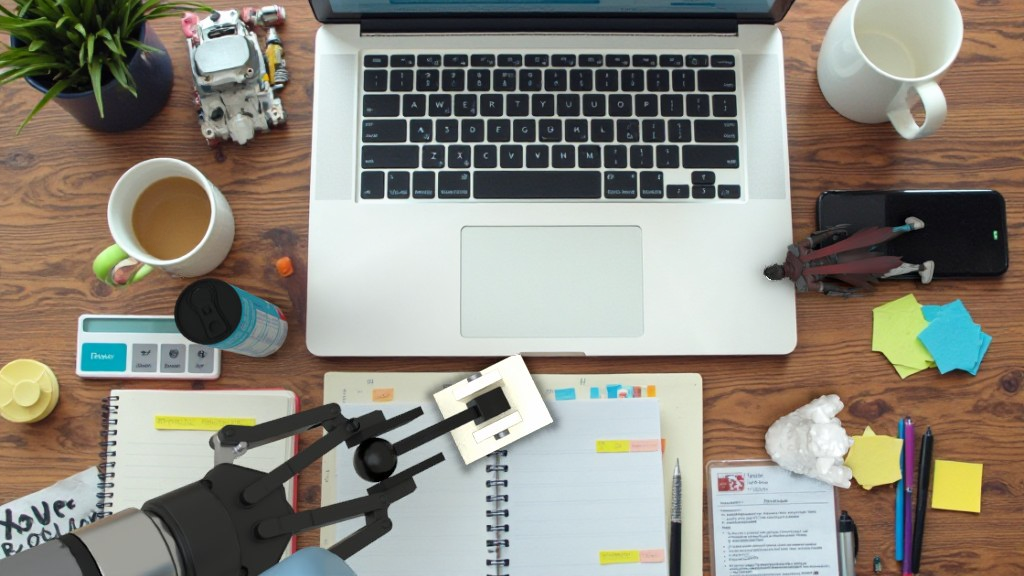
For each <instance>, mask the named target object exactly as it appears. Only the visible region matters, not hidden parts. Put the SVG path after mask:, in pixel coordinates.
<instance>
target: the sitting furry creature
mask: <svg viewBox="0 0 1024 576" xmlns="http://www.w3.org/2000/svg"><path fill="white" fill-rule="evenodd" d="M840 399H841V398H840V396H839V395H837V394H835V393H834V394H833V393H832V394H828V395H825V394H823V395H821V396H820V397H818V398H814V399H812V400H811V401H810V402H809V403H805V405H802V406H800V407H799V408H796V409H795V410H794V411H791V412H789V413H788V414H786V415H785V416H784V415H783V416H779V419H776V420H775V422H773V423H772V424H771V425H770V426H769V427H768V429H767V431H766V433H765V435H764V440H765V445H764V449H765V450H766V452H765V453H766V454H767V455H769V457H770V459H771V461H772V462H774V463H777V465H778V467H779V468H782V469H783V470H786V471H789V472H793V473H794V474H797V475H798V474H799V475H805V476H806V477H807V478H810V479H815V480H816V479H817V480H818V481H819V482H823V483H826V484H827V485H829V486H834V487H838V488H841V489H846V490H848V489H849V488H851V485H852V482H851V481H850V480H852V478H853V470H852V468H850V467H849V466H847V465H844V464H845V459H844V456H845V455H846V454H848V452H849V449H850V448H851V447H852V446H853V445H854V444H855V439H854V438H853V437H852V436H850V435H848V434H847V432H846V428H844V427H842V421H841V419H840V418H839V417H836V415H838V413H840V412H842V410H843V409H844V407H845V405H844V402H842V401H841V400H840Z"/></svg>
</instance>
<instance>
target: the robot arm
mask: <svg viewBox="0 0 1024 576" xmlns="http://www.w3.org/2000/svg"><path fill="white" fill-rule="evenodd" d="M422 408H423V407H422V406H421V405H420V406H416V407H415V408H412V409H409V410H407V411H404V412H402V413H400V414H398V415H395V416H392V417H390V418H386V416H385V414H384V412H383V410H381V409H375V410H373V411H370V412H368V413H365V414H362V415H360V416H358V417H355V416H354V417H350V418H348V417H346V416H345V415H344V414H343V412H342V408H341V405H340V404H339V403H337V402H329V403H325V404H322V405H319V406H316V407H312V408H309V409H306V410H302V411H299V412H295V413H292V414H288V415H285V416H282V417H278V418H276V419H271V420H268V421H264V422H261V423H258V424H255V425H243V424H225V425H224V426H222V427H221V428H220V429H219V430H218V431H216V432H215V433H214V434H212V436H210V437H209V440H208V446H209V447H210V449H212V450H213V451H214V453H213V454H214V455H213V467H212V468H211V469H209V470H208V471H207V472H206V473H205V475H204V476H202V478H200V479H198V480H195V481H193V482H191V483H189V484H186V485H183V486H180V487H177V488H175V489H173V490H171V491H168V492H166V493H163V494H160V495H158V496H155V497H153V498H150V499H147V500H146V501H145V502H143V504H142V506H141V507H140V508H138V507H134V506H132V507H127V508H125V509H122V510H120V511H118V512H115V513H112V514H109V515H108V516H104V517H102V518H100V519H98V520H95V521H93V522H91V523H88V524H85V525H83V526H80V527H78V528H75V529H73V530H70V531H67V532H65V533H64V534H62V535H59V536H57V537H55V538H52V539H51V540H48V541H45V542H43V543H40V544H37V545H34V546H32V547H29V548H27V549H24V550H21V551H19V552H17V553H13V554H11V555H8V556H5V557H4V558H0V576H359V575H358V573H356V572H355V570H354V569H353V568H352V567H351V566H350V565H349V564H348V563H347V562H346V561H347V560H348V559H350V558H351V557H353V556H354V555H356V554H357V553H359V552H360V551H362V550H363V549H365V548H366V547H368V546H370V545H371V544H373V543H374V542H376V541H377V540H379V539H380V538H382V537H383V536H385V535H386V534H388V533H389V532H390V531H392V529H393V527H394V526H393V520H392V519H391V518H390V517H389V511H388V510H389V508H390V506H391V505H392V504H394V503H395V502H397V501H399V500H401V499H403V498H405V497H407V496H409V495H411V494H413V493H414V492H415V491H416V490H417V488H418V485H417V483H416V481H415V479H414V477H415V476H416V475H417V476H418V475H419V474H420V473H423V472H424V471H426V470H428V469H431V468H432V467H434V466H436V465H439V464H440V463H442V462H445V461H446V460H447V459H446V457H445V455H444V453H443V451H440V452H438V453H437V454H434V455H433V456H430V457H429V458H426V459H424V460H422V461H420V462H418V463H416V464H413V465H412V466H410V467H408V468H405V469H403V470H402V471H399V472H397V473H396V474H392V475H391V476H390V477H389V478H387V479H385V480H383V481H381V482H377V483H374V485H371V486H370V487H368V488H367V487H366V489H365V490H366V492H367V495H363V496H359V497H355V498H351V499H348V500H345V501H344V500H343V501H340V502H336V503H332V504H328V505H325V506H320V507H317V508H312V509H305V510H301V511H298V512H295V509H294V507H293V506H292V505H291V504H290V502H289V501H288V499H287V493H286V488H285V486H284V484H285V483H287V482H289V480H291V479H292V478H294V477H295V476H296V475H298V474H299V473H301V472H302V471H304V470H305V469H306V468H308V467H310V466H311V465H312V464H314V463H315V462H317V461H318V460H319V459H321V458H322V457H324V456H325V455H326V454H328V453H329V452H331V451H333V449H335V448H337V447H338V446H339V445H341V444H343V443H345V445H346V447H347V450H350V449H352V448H355V447H358V446H359V445H360V444H361V443H362V442H363V441H365V440H367V439H369V438H374V437H381V436H382V435H384V434H387V433H389V432H391V431H394V430H397V429H398V428H401V427H403V426H405V425H408V424H409V423H412V422H413V421H414V420H416V419H418V418H420V417H421V416H424V415H425V412H424V410H423V409H422ZM321 427H322V428H323V429H324V430H325V431H326V434H324V435H323V436H322V437H320V438H318V439H317V440H315V441H314V442H313V443H311V444H309V445H308V446H307V447H305V448H304V449H302V450H301V451H299V452H297V453H296V454H294V455H293V456H292V457H290V458H289V459H287V460H285V461H284V462H283V463H281V464H279V465H278V466H276V467H275V468H273V469H272V470H271V471H269V472H266V471H262V470H258V469H255V468H252V467H247V466H244V465H240V464H236V463H234V460H238V459H240V458H241V457H242V456H244V455H245V454H247V452H248V451H249V450H254V449H256V448H259V447H262V446H265V445H268V444H272V443H274V442H275V443H276V442H277V441H281V440H285V439H288V438H290V437H293V436H297V435H300V434H302V433H306V432H309V431H313V430H316V429H318V428H321ZM361 517H364V520H365V525H363V526H361V527H360V528H358V529H357V530H355V531H354V532H352V533H351V534H349V535H347V536H346V537H344V538H342V539H341V540H340V541H338V542H336V543H334V544H332V545H331V546H329V547H328V548H324V547H321V546H307V547H304V548H301V549H298V550H297V551H295V552H294V553H292V554H291V555H289V556H287V557H285V558H284V559H282V557H283V555H284V553H285V551H286V549H287V548H288V546H289V543H290V541H291V539H292V538H293V537H295V536H298V535H301V534H304V533H307V532H311V531H315V530H318V529H323V528H325V527H329V526H333V525H336V524H340V523H343V522H347V521H351V520H354V519H358V518H361ZM281 559H282V560H281Z"/></svg>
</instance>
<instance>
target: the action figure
mask: <svg viewBox="0 0 1024 576" xmlns="http://www.w3.org/2000/svg"><path fill="white" fill-rule="evenodd" d="M904 223H905V224H904V225H901V226H895V227H894V226H893V227H891V226H884V227H880V226H879V225H878V226H875V225H874V226H866V227H862V228H861V229H859V230H858V231H856V232H855V233H852V234H851V236H849V233H848V230H846V229H845V228H847V226H851V224H849V223H841V224H836V225H835V226H831V225H825V226H824V227H825V228H826V229H825V230H824V229H823V230H817V231H813V232H810V233H809V236H807V237H804V238H802V239H801V240H799V241H798V242H795V243H794V244H793V243H791V244H789V245H787V253H786V257H785V260H784V262H782V264H778V262H776V263H775V262H774V263H771V264H770V265H768V266H767V265H765V267H764V268H763V273H762V274H763V275H764V276H765V277H766V276H767V277H768V278H769V279H771V280H776V281H778V280H779V281H782V280H784V279H788V280H789V281H791V282H792V283H794V284H795V286H796V289H797V292H798V293H805V292H816V293H819V294H820V293H822V292H823V295H824V296H825V297H834V296H835V297H836V296H840V298H843V301H845V300H847V299H850V298H860V297H861V298H862V297H864V296H867V295H868V293H862V294H861V293H860V294H857V293H859V292H862V290H866V291H871V292H872V291H879V289H877V288H875V286H873V285H872V284H870V283H869V282H872V283H876V284H880V281H879V279H886V278H890V277H891V276H899V275H903V274H909V273H915V272H917V273H918V274H919V276H920V277H921V283H922V284H929V283H930V282H931V281H932V279H933V274H934V269H935V262H934V260H927V261H924V262H923V263H917V264H916V263H915V264H913V263H907V262H905V261H902V260H901V259H902V258H903V256H892V255H885V254H886V253H884V252H883V251H882V252H881V251H880V250H877V251H876V250H875V249H877V248H878V247H880V246H881V245H883V244H885V243H887V242H889V241H891V240H894V239H896V238H898V237H900V236H901V235H903V234H904V233H907V232H910V231H913V230H918V229H923V228H924V227H925V223H924V222H923V220H921V219H919V218H917V217H915V216H909V217H906V219H905V220H904ZM879 227H880V228H879ZM844 235H845V236H844ZM832 236H837V237H847V238H844V239H842V240H839V241H836V242H834V243H833V244H831V245H828V246H825V247H823V248H820V249H815V250H814V249H813V248H814V247H815V246H816V245H819V244H821V243H822V242H824V241H826V240H827V239H828V238H830V237H832ZM848 236H849V237H848ZM873 250H875V251H873ZM783 278H784V279H783ZM825 278H830V279H837V280H840V281H843V282H845V283H848V284H849V285H851V286H852V287H843V286H840V285H838V284H834V283H831V282H823V281H822V280H823V279H825ZM878 278H879V279H878Z"/></svg>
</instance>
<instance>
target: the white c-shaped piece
mask: <svg viewBox="0 0 1024 576" xmlns="http://www.w3.org/2000/svg"><path fill="white" fill-rule="evenodd" d="M499 386H501V388H502V390H503V392H504V394H505V396H506V398H507V401H508V403H509V405H510V407H511V409H510V410H508V411H506V412H504V413H502V414H500V415H498V416H496V417H494V418H492V419H490V420H488V421H486V422H484V423H482V424H480V425H478V426H476V425H475V423H474V421H471V422H469V423H467V424H465V425H463V426H461V427H459V428H457V429H455V430H452V431H450V432H449V433H450V434H451V436H452V438H453V441H454V442H455V445H456V447H457V449H458V451H459V454H460V455H461V457H462V460H463V462H464V464H465V466H468V465H470V464H472V463H475V462H476V461H478V460H480V459H482V458H484V457H486V456H487V455H490V454H492V453H494V452H496V451H498V450H500V449H502V448H504V447H506V446H508V445H510V444H511V443H514V442H515V441H518V440H519V439H522V438H524V437H526V436H528V435H530V434H531V433H534V432H536V431H537V430H540V429H542V428H543V427H546V426H548V425H550V424H552V423H554V419H553V418H552V416H551V414H550V412H549V409H548V407H547V405H546V403H545V402H544V399H543V397H542V395H541V393H540V391H539V389H538V387H537V385H536V383H535V381H534V379H533V377H532V375H531V372H530V371H529V369H528V366H527V365H526V363H525V361H524V359H523V357H522V354H520V355H516V356H512V355H510V356H509V357H506V358H504V359H502V360H500V361H499V362H496V363H494V364H492V365H490V366H488V367H486V368H484V369H482V370H480V371H478V372H476V373H474V374H471V375H470V376H467V377H465V378H463V379H462V380H459V381H458V382H455V383H453V384H452V385H450V386H447V387H446V388H443V389H441V390H439V391H437V392H435V393H433V394H432V396H433V399H434V400H435V402H436V404H437V407H438V408H439V411H440V413H441V415H442V417H443V420H445V419H447V418H449V417H451V416H453V415H455V414H457V413H459V412H462V411H464V410H466V409H468V408H467V406H466V403H467V402H469V401H470V400H472V399H474V398H475V397H477V396H480V395H482V394H484V393H486V392H488V391H490V390H492V389H495V388H497V387H499Z"/></svg>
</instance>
